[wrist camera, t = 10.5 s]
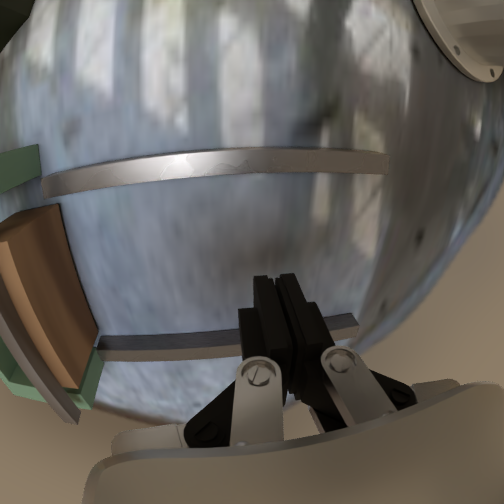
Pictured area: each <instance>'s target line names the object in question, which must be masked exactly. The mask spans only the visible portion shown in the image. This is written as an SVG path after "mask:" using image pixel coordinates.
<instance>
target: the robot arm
mask: <svg viewBox="0 0 504 504" xmlns="http://www.w3.org/2000/svg"><path fill="white" fill-rule="evenodd" d="M413 1H414V4H415V6H416V8H417V10H418V13H419V15H420V17H421V18H422V20H423V22H424V24H425V26H426V28H427V29H428V31H429V32H430V34H431V36H432V37H433V39H434V40H435V42H436V43H437V45H438V46H439V47H440V49H441V50H442V51H443V53H444V54H445V55H446V56H447V58H448V59H449V60H450V61H451V62H452V63H453V65H455V66H456V67H457V68H458V69H459V70H460V71H461V72H462V73H463V74H465V75H466V76H468V77H469V78H471V79H473V80H475V81H478V82H494V81H495V80H497V79H498V78H499V76H500V75H501V73H502V70H503V67H504V0H413ZM253 291H254V308H242V309H238V318H239V332H240V342H241V351H242V359H243V362H241V364H240V365H239V366H238V369H237V372H236V380H235V381H234V382H233V383H232V384H230V385H229V386H228V387H227V388H226V389H225V390H224V391H223V392H222V393H221V394H219V395H218V396H217V397H216V398H215V399H214V400H213V401H211V402H210V403H209V404H208V405H207V406H206V407H205V408H203V409H202V410H201V411H200V412H199V413H198V414H196V415H195V416H194V417H193V418H192V419H190V420H189V422H188V423H187V424H182V425H177V426H176V424H170V425H164V426H158V427H152V428H145V429H137V430H129V431H123V432H120V433H118V434H117V435H116V436H115V437H114V439H113V440H112V445H111V450H112V456H110V457H108V458H105V459H103V460H101V461H100V462H98V463H97V464H96V465H95V466H94V467H93V468H92V469H91V471H90V473H89V475H88V478H87V481H86V484H85V488H84V492H83V498H82V504H504V389H503V388H502V387H501V386H500V385H499V384H497V383H494V382H487V381H482V382H472V383H467V384H464V385H460V384H459V383H458V382H457V381H455V380H453V379H444V380H438V381H432V382H424V383H416V384H412V386H410V387H409V386H408V385H406V384H404V383H402V382H399V381H397V380H394V379H392V378H389V377H387V376H384V375H382V374H379V373H377V372H375V371H372V370H370V369H368V367H367V366H366V365H365V363H364V362H363V361H362V359H361V357H360V356H359V355H358V354H357V353H356V352H355V351H354V350H353V349H351V348H349V347H346V346H339V345H337V346H336V345H335V343H334V341H333V339H332V336H331V334H330V332H329V330H328V328H327V325H326V323H325V321H324V319H323V317H322V315H321V312H320V310H319V308H318V306H317V304H316V303H315V302H306V299H305V297H304V295H303V292H302V290H301V288H300V285H299V283H298V281H297V279H296V276H295V274H294V273H289V274H281V275H280V278H276V280H275V285H274V282H273V279H272V278H269V279H268V276H267V275H263V276H254V278H253ZM287 391H289V394H293V393H294V396H295V400H301V402H303V403H305V404H307V405H308V409H309V412H310V414H311V416H312V418H313V420H314V423H315V425H316V427H317V429H318V431H319V433H320V434H318V435H313V436H308V437H303V438H297V439H292V440H285V441H284V434H283V406H284V405H285V402H286V396H287Z"/></svg>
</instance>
